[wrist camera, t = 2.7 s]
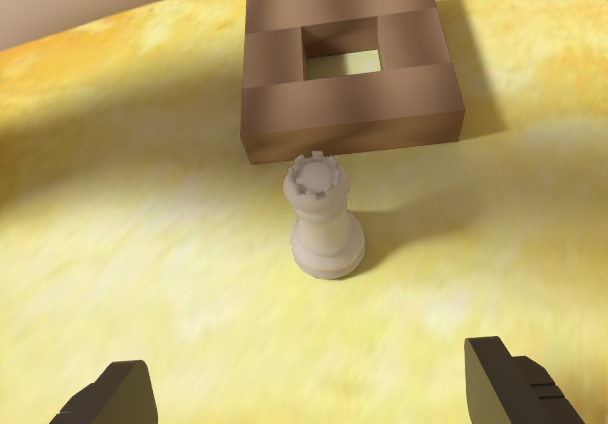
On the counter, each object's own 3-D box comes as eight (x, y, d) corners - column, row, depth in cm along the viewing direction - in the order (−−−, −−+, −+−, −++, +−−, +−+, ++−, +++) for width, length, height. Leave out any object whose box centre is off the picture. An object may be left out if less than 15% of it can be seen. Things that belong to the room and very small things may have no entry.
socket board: (251, 164, 33) (240, 136, 30) (255, 30, 40) (246, -2, 38) (458, 141, 32) (465, 109, 29) (423, 6, 39) (426, -28, 36)
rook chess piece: (312, 296, 28) (290, 230, 21) (281, 236, 30) (252, 159, 23) (380, 261, 28) (380, 186, 21) (344, 205, 30) (334, 121, 24)
